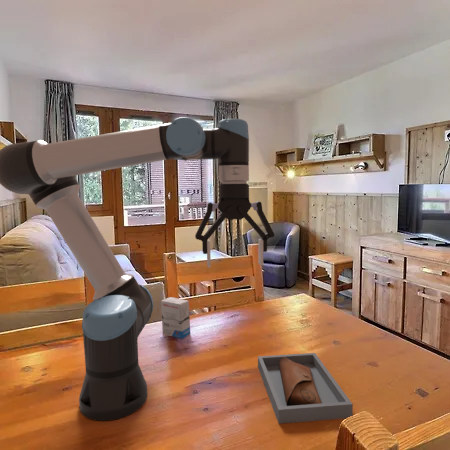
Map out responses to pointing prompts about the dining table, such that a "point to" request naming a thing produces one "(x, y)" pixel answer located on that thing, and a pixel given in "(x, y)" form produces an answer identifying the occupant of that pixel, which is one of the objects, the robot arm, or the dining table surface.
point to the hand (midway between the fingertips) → (235, 265)
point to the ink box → (175, 317)
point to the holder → (325, 384)
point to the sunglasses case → (297, 383)
